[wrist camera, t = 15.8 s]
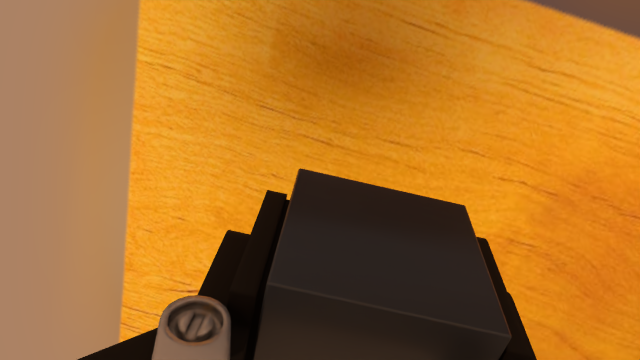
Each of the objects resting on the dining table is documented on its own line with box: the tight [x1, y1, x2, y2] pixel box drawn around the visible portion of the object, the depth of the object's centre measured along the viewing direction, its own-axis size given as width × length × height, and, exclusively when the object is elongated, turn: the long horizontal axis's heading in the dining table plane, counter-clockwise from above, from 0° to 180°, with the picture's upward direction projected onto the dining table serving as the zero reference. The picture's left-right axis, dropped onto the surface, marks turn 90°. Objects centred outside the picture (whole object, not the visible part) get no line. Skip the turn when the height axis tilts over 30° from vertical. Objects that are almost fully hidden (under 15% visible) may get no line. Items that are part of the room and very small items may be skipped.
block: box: [252, 169, 511, 360], centre depth 11 cm, size 4×4×4 cm
